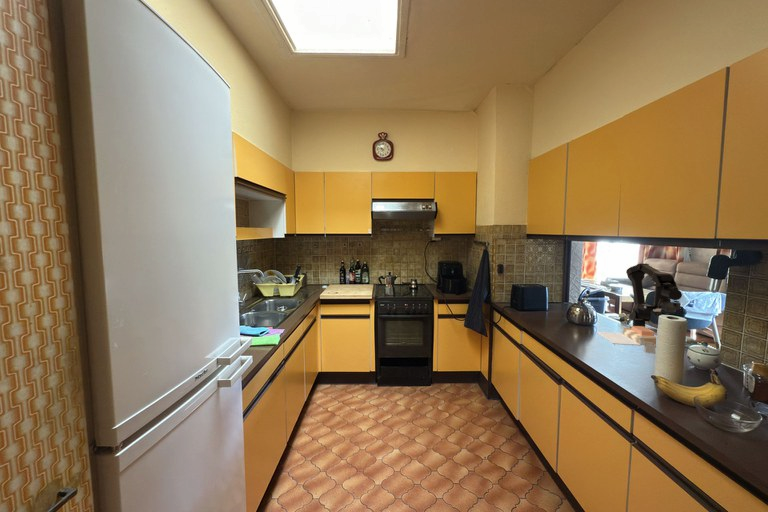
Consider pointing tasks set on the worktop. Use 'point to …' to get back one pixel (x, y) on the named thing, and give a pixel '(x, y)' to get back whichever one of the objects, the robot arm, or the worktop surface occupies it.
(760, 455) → the worktop surface
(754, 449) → the worktop surface
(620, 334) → the mat
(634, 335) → the board
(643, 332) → the tile
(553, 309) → the worktop surface
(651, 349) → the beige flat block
